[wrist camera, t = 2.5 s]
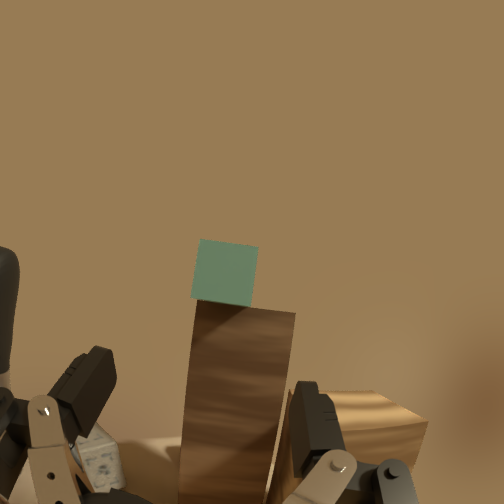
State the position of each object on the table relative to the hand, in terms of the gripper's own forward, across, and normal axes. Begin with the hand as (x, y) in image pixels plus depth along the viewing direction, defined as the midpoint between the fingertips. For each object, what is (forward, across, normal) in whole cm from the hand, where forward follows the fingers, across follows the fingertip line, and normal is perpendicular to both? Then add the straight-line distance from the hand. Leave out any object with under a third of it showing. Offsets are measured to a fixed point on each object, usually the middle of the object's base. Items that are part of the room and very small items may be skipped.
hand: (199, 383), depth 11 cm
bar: (+19, 0, +7) cm, 20 cm away
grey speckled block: (+6, +18, +36) cm, 41 cm away
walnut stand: (+6, -2, +36) cm, 37 cm away
